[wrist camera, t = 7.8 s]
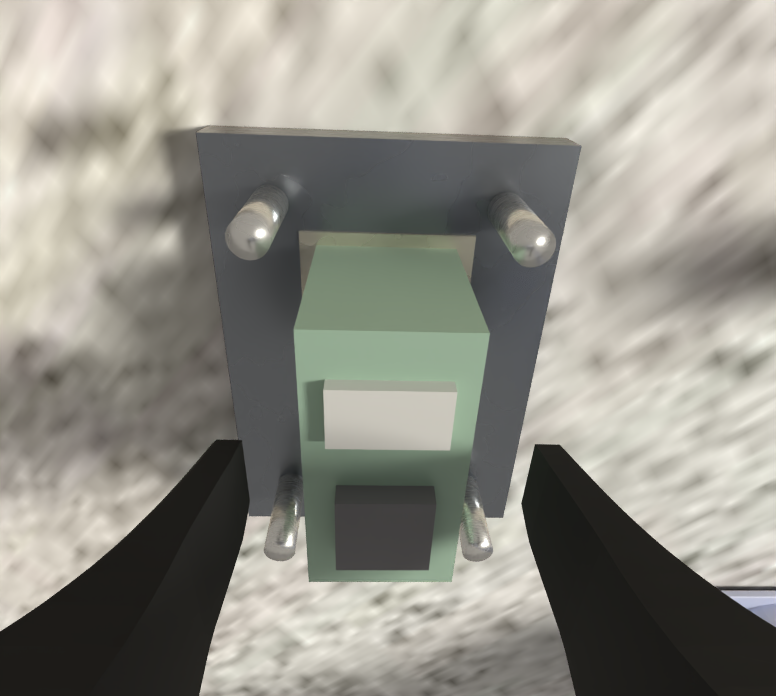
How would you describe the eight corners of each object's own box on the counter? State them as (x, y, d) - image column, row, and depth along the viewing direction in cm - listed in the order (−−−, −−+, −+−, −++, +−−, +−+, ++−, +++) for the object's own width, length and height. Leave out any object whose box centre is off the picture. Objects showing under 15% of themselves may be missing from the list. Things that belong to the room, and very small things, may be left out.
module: (433, 459, 19) (454, 601, 14) (323, 458, 19) (306, 601, 14) (456, 249, 15) (496, 348, 10) (316, 245, 15) (289, 344, 10)
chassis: (496, 494, 22) (521, 585, 18) (254, 493, 22) (231, 585, 18) (567, 138, 15) (629, 170, 11) (208, 125, 14) (153, 154, 11)
